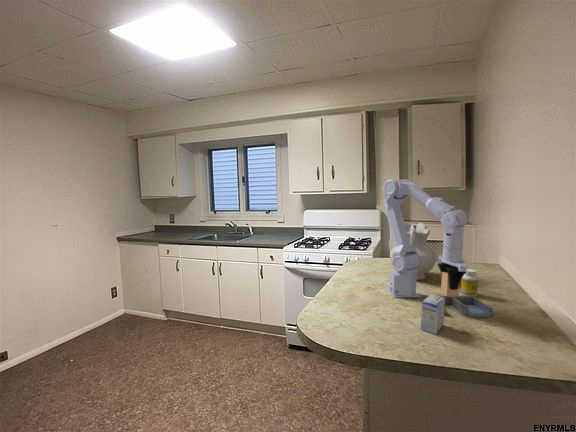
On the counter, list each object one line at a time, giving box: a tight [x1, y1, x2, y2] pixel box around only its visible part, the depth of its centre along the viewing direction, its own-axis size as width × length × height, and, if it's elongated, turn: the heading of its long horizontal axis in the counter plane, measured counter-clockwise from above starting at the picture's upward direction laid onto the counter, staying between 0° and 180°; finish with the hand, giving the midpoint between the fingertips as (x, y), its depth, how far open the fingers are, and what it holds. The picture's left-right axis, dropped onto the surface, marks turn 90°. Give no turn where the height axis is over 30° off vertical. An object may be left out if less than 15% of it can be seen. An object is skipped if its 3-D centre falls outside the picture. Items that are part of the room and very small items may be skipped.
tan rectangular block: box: [440, 272, 461, 296], centre depth 107 cm, size 4×4×7 cm
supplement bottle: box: [460, 268, 479, 298], centre depth 122 cm, size 5×5×10 cm
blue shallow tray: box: [439, 295, 493, 318], centre depth 108 cm, size 16×12×2 cm
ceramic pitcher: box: [389, 221, 437, 281], centre depth 144 cm, size 22×20×25 cm
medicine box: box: [420, 294, 446, 335], centre depth 94 cm, size 8×4×9 cm, turn 141°
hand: (450, 287), depth 107 cm, fingers closed on tan rectangular block, 4 cm apart
